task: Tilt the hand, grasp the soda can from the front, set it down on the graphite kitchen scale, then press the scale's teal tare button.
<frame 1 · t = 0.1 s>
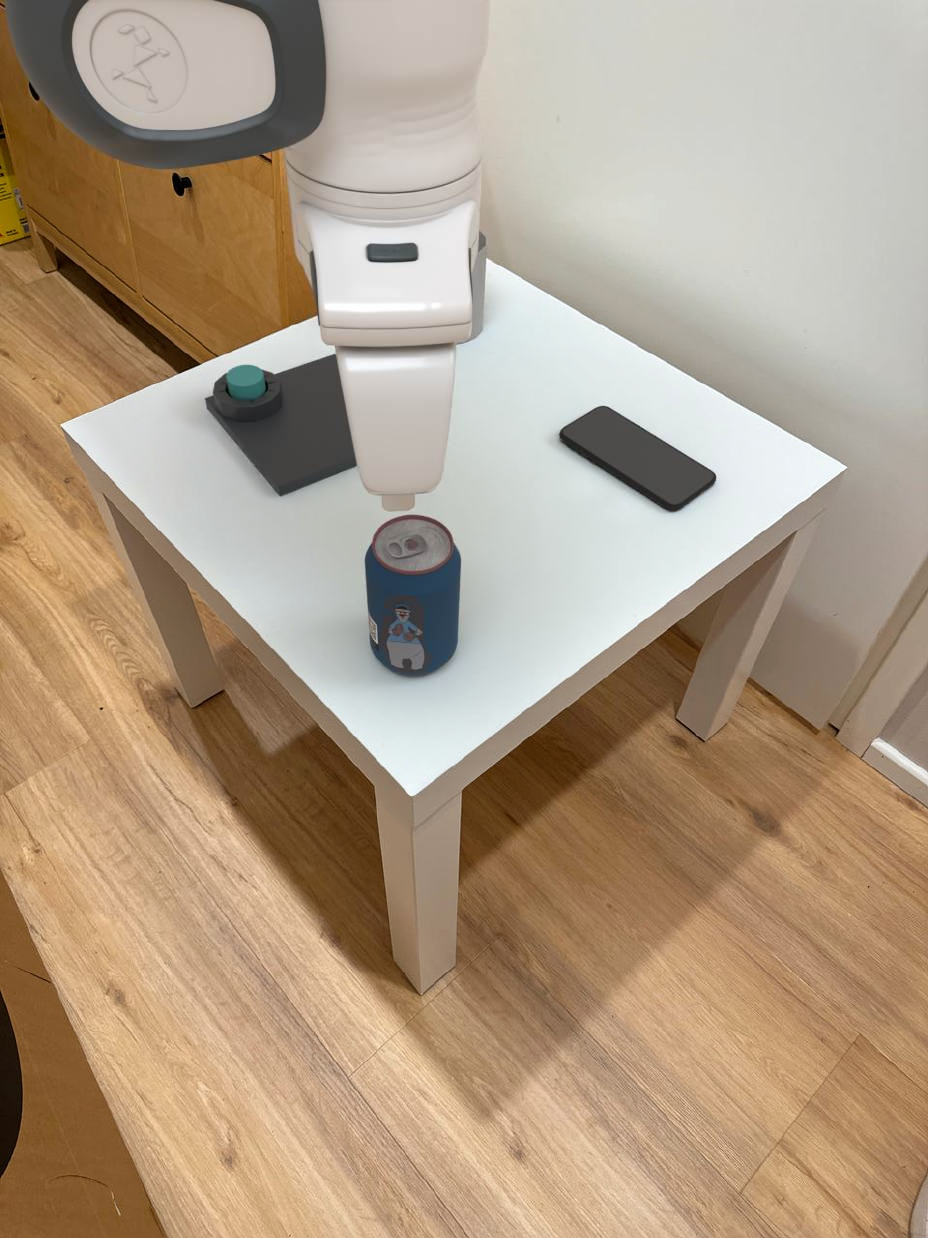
hand: (393, 447, 53), 23 cm above the table, tool pointing down, fingers open, 8 cm apart
soda can: (414, 650, 73), on the table
scale: (310, 424, 91), on the table
tare button: (246, 382, 90), point 3 cm above the table, slide at 0.1 cm
smartphone: (635, 461, 89), on the table
cup: (446, 325, 104), on the table
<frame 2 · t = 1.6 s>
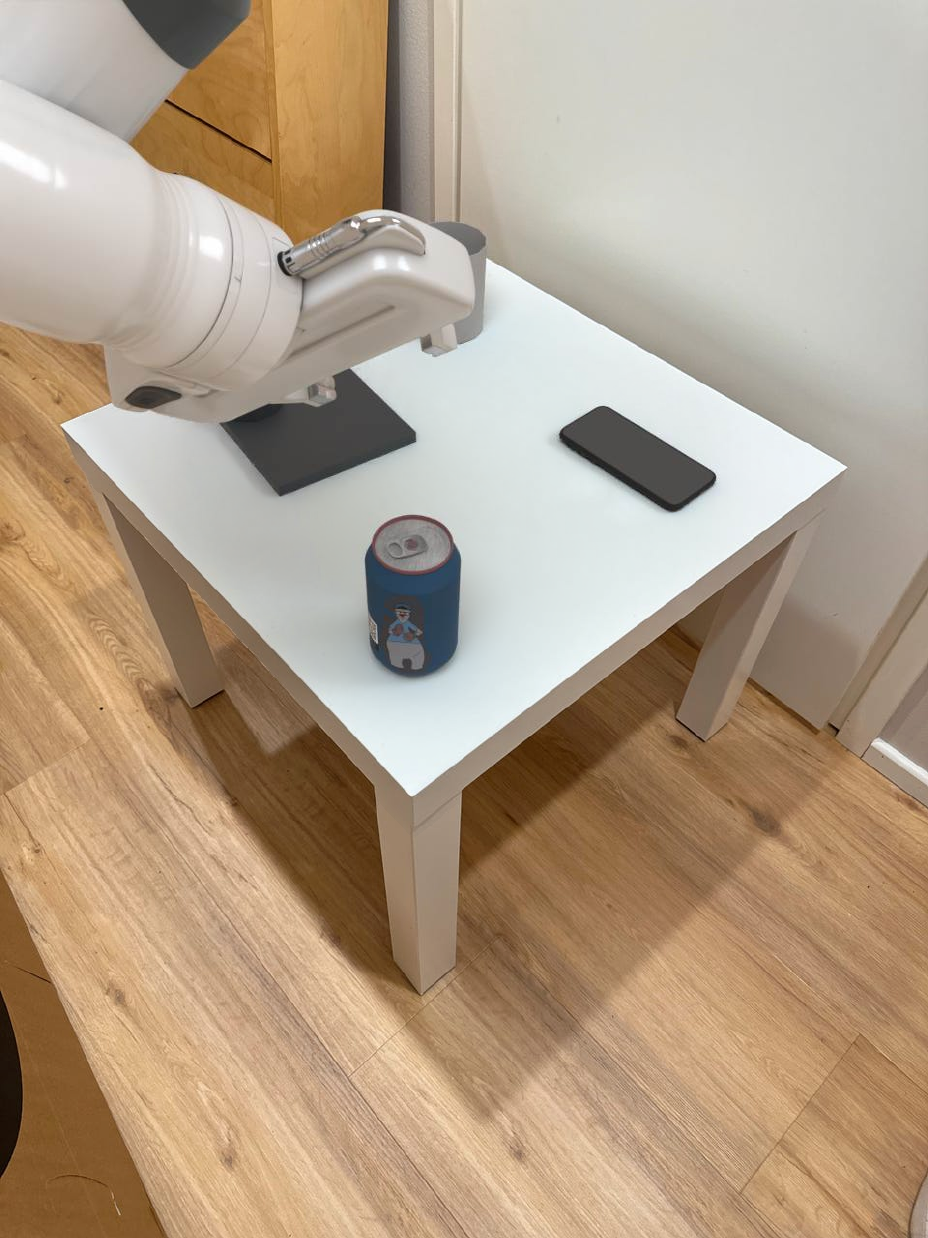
hand: (384, 367, 57), 24 cm above the table, tool tilted 50°, fingers open, 8 cm apart
nothing on the table moved.
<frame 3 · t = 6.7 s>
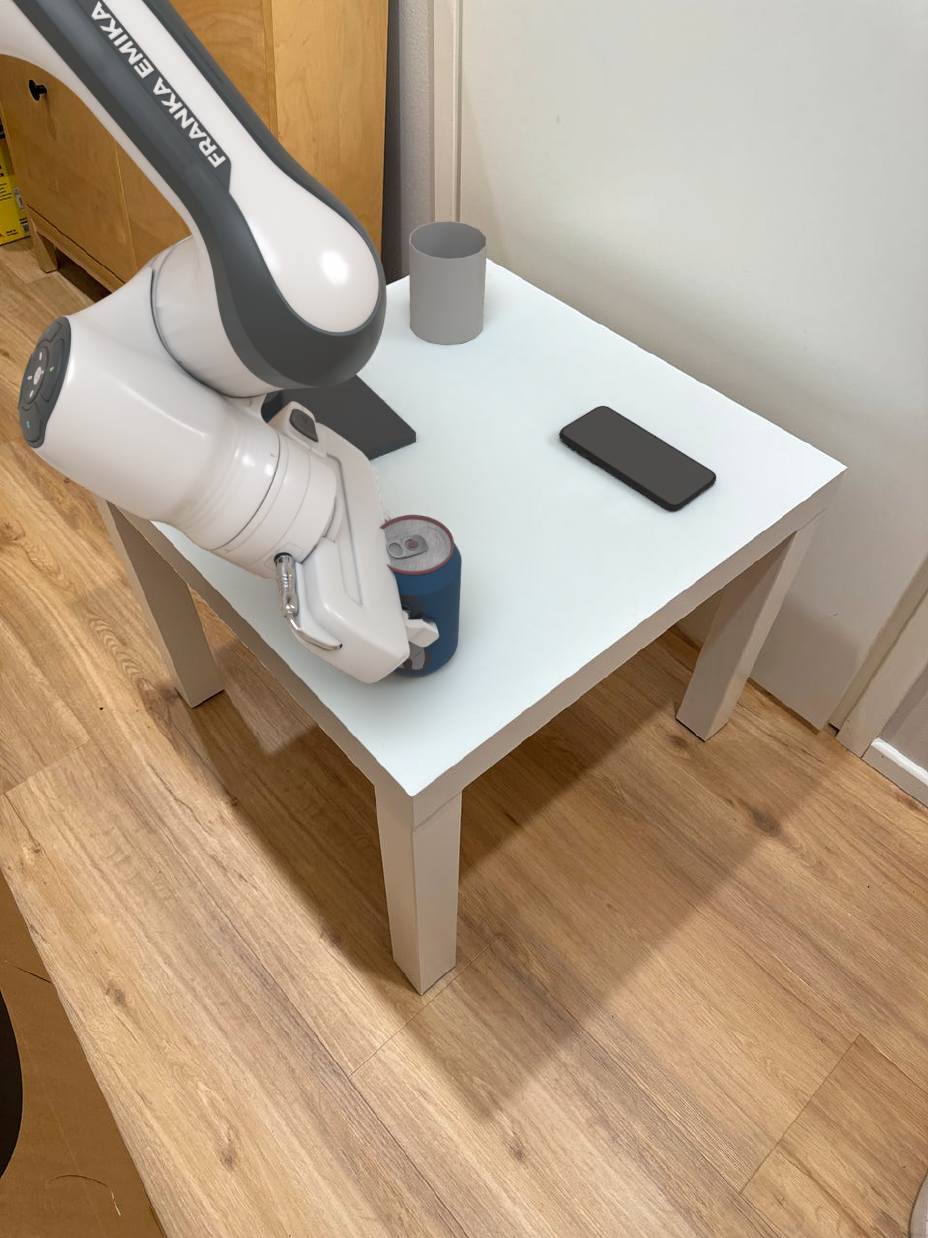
hand: (422, 592, 68), 7 cm above the table, tool tilted 45°, fingers closed on soda can, 7 cm apart
soda can: (414, 650, 73), on the table, touching gripper
everything else where it was.
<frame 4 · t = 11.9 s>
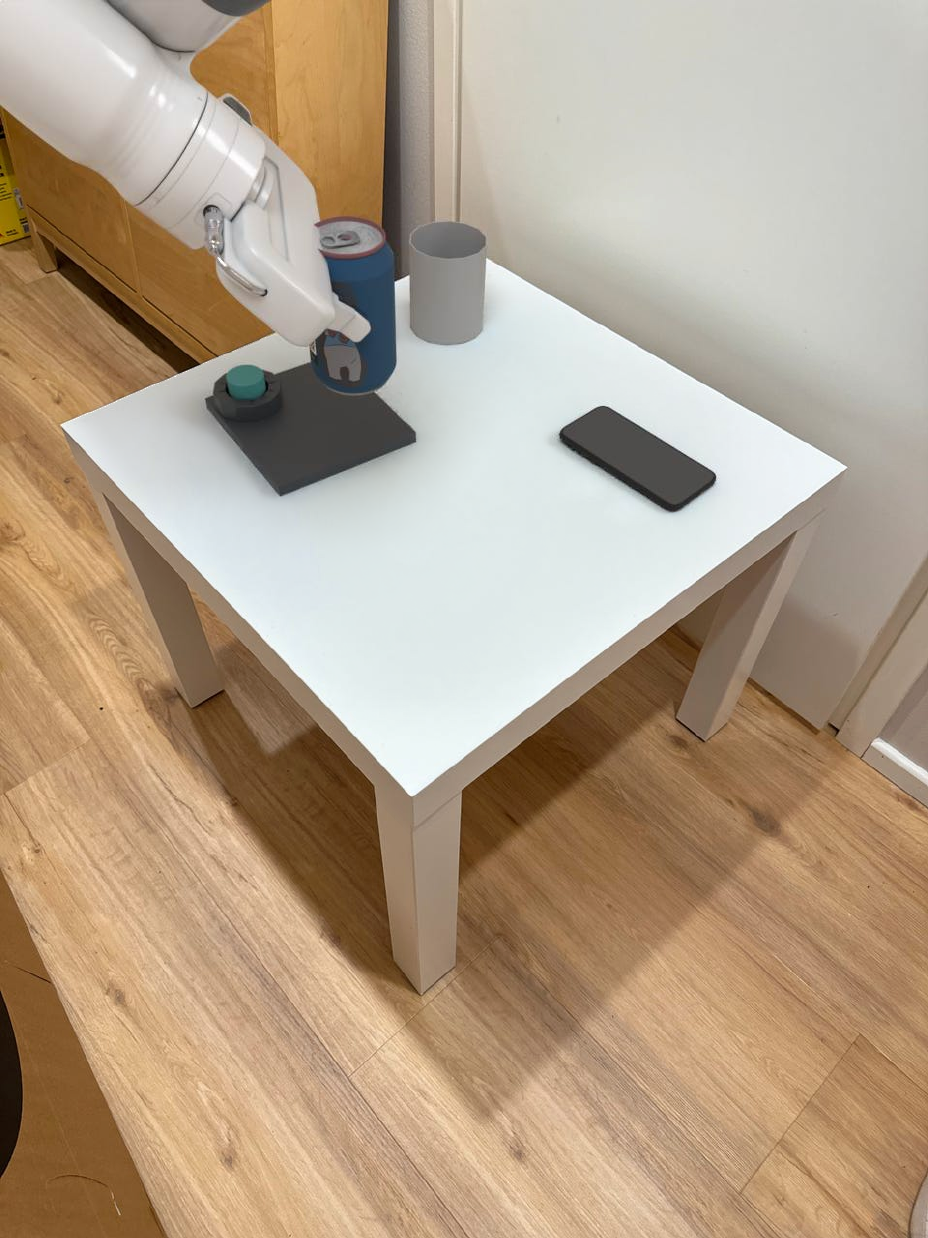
hand: (358, 301, 70), 19 cm above the table, tool tilted 45°, fingers closed on soda can, 7 cm apart
soda can: (355, 377, 75), point 13 cm above the table, touching gripper
everything else where it was.
when the fingers open (8 cm above the table, at t = 17.0 s): soda can stays where it is, resting on scale.
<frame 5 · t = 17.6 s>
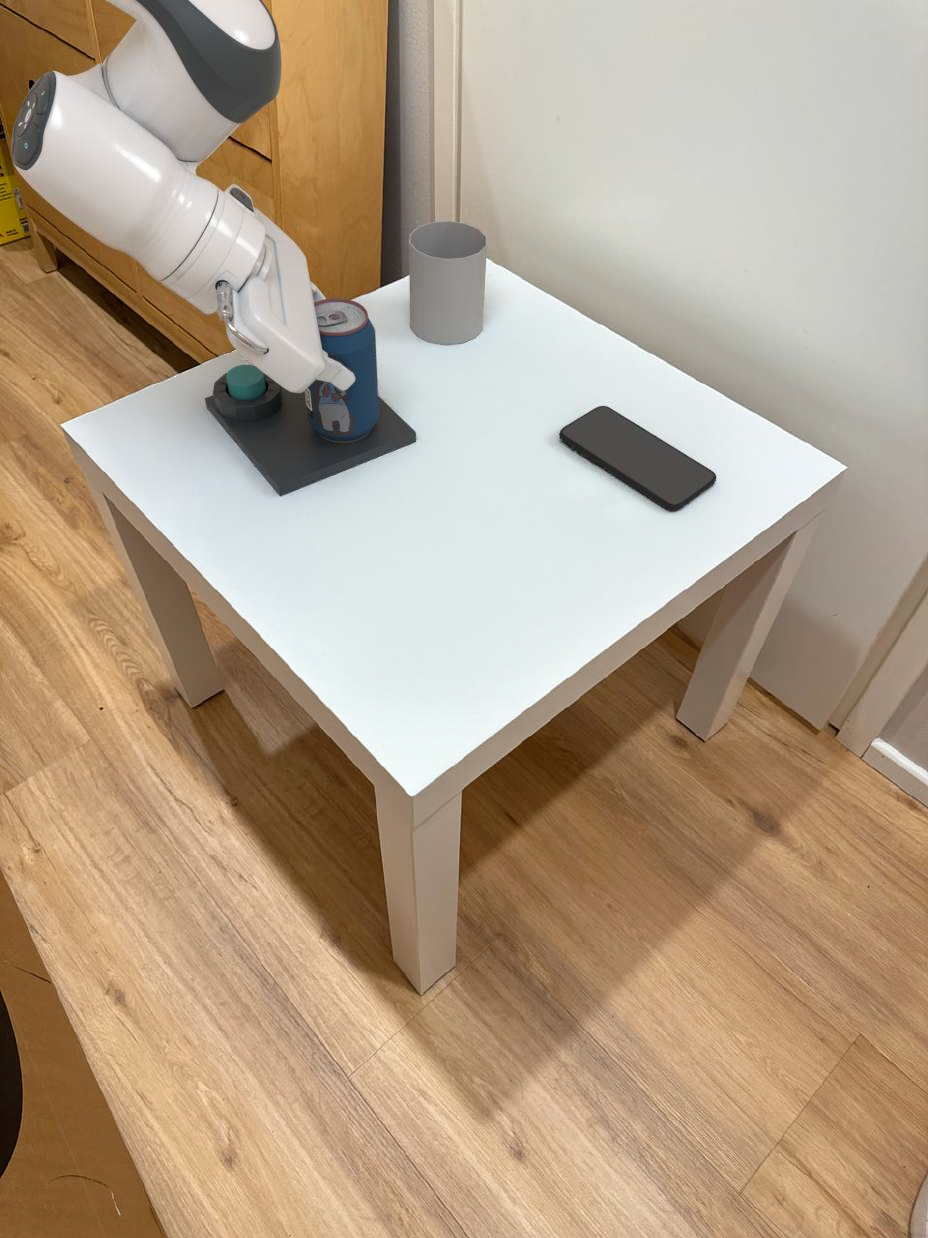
hand: (343, 351, 83), 9 cm above the table, tool tilted 45°, fingers open, 8 cm apart
soda can: (344, 426, 90), point 1 cm above the table, touching scale
everything else where it was.
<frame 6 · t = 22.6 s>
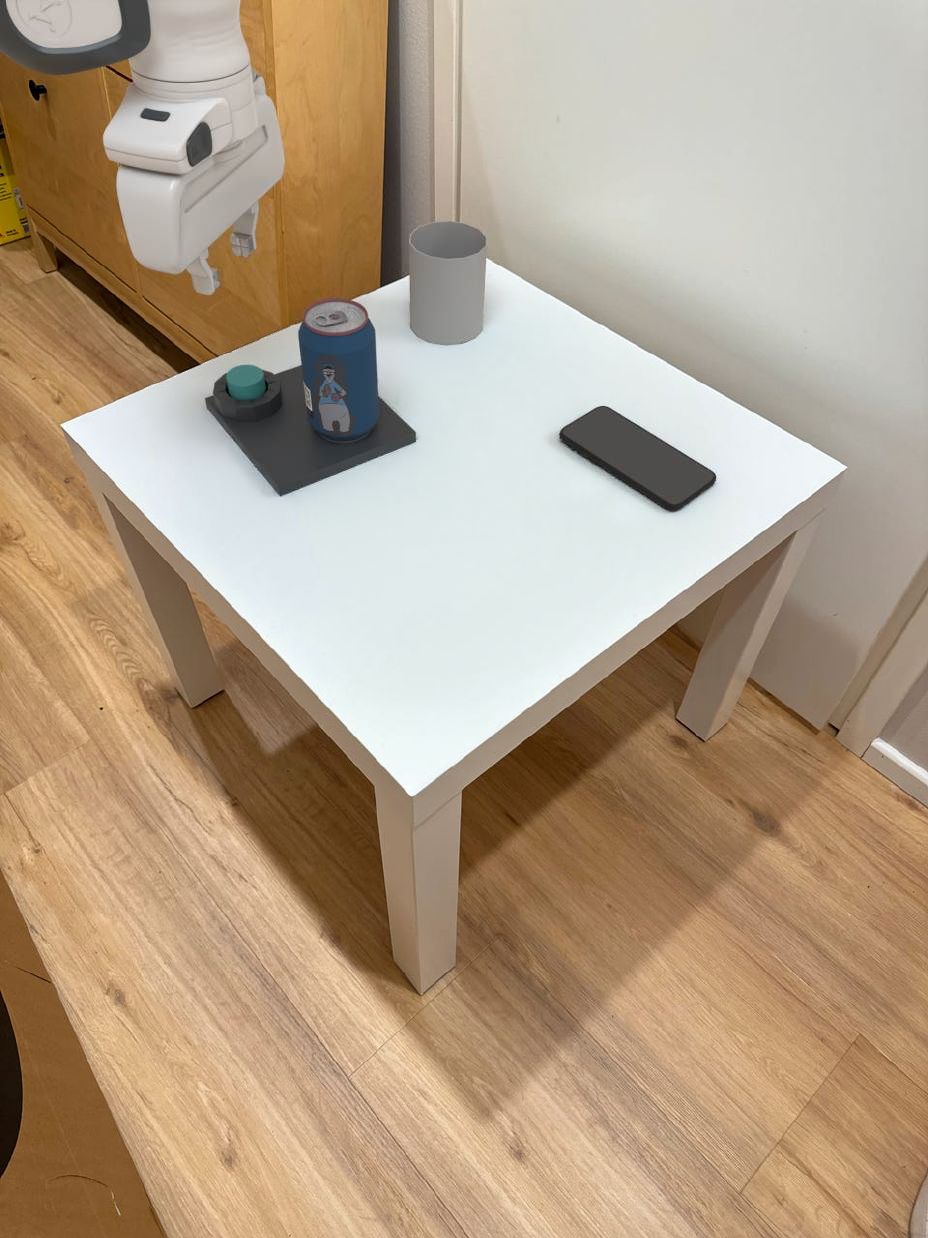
hand: (227, 271, 81), 15 cm above the table, tool pointing down, fingers open, 5 cm apart
nothing on the table moved.
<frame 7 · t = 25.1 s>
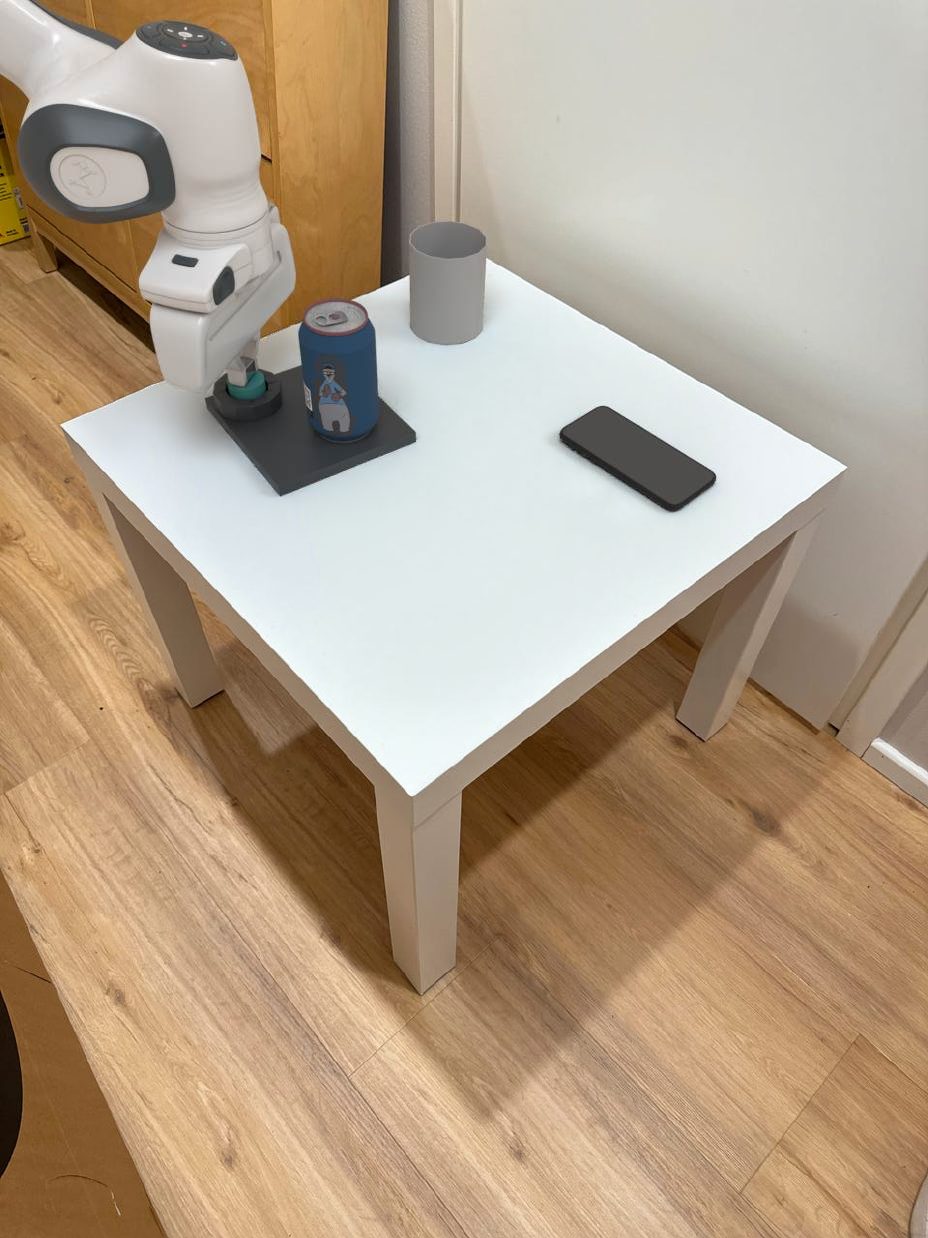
hand: (244, 377, 89), 4 cm above the table, tool pointing down, fingers closed, pressing on tare button
tare button: (246, 386, 90), point 3 cm above the table, slide at -0.3 cm, touching gripper
everything else where it was.
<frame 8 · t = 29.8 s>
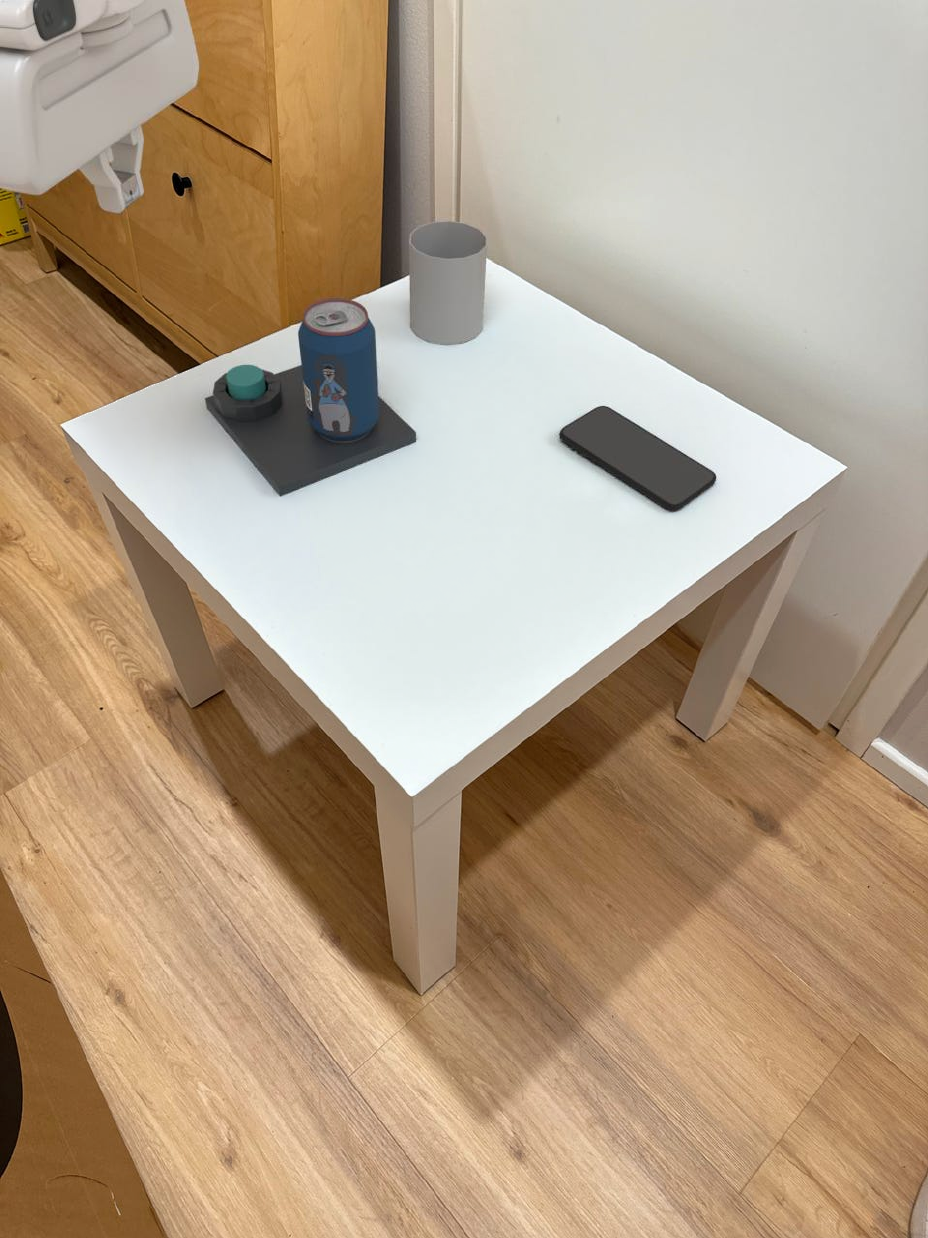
hand: (123, 203, 63), 27 cm above the table, tool pointing down, fingers closed
tare button: (246, 382, 90), point 3 cm above the table, slide at 0.1 cm
everything else where it was.
at the end: soda can inside the target area on the scale (3.9 cm from its centre), point 1.0 cm above the scale's base; soda can touching scale; tare button pushed in 1.1 cm at the most during the clip, back to where it started at the end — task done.
